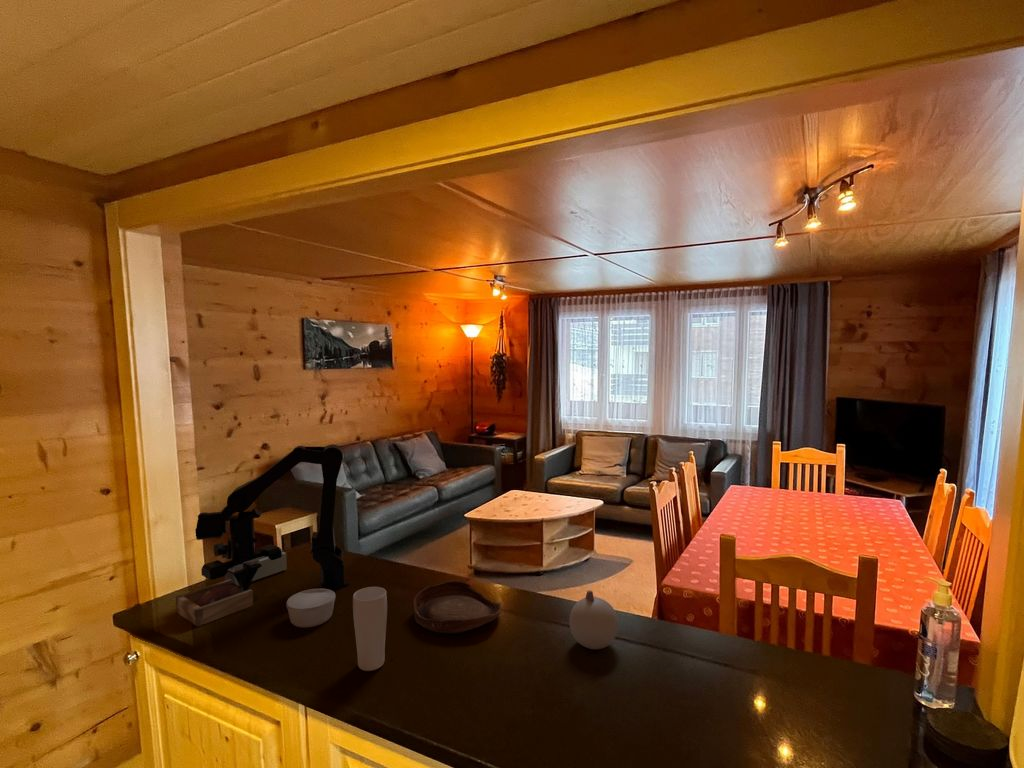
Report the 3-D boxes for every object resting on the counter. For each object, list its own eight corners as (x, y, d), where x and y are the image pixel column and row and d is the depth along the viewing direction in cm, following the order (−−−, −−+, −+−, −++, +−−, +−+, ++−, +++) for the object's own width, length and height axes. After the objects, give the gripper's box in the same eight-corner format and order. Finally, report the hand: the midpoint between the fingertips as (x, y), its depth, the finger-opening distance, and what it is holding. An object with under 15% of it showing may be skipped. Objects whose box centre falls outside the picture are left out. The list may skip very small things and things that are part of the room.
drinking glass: (394, 658, 107) (393, 588, 107) (376, 677, 101) (374, 603, 100) (367, 653, 110) (365, 584, 109) (347, 671, 103) (345, 598, 103)
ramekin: (336, 605, 132) (335, 585, 132) (335, 625, 122) (335, 604, 121) (289, 612, 129) (288, 591, 128) (284, 634, 118) (283, 611, 118)
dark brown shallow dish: (518, 616, 125) (518, 597, 125) (459, 652, 110) (459, 630, 110) (455, 591, 140) (455, 573, 139) (395, 620, 124) (395, 600, 124)
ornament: (560, 646, 111) (560, 592, 111) (587, 628, 119) (587, 577, 118) (600, 664, 104) (600, 607, 104) (626, 644, 112) (626, 590, 111)
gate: (282, 567, 156) (282, 546, 156) (287, 569, 154) (286, 548, 154) (223, 587, 142) (222, 564, 142) (227, 590, 141) (227, 566, 140)
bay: (253, 605, 132) (252, 590, 132) (197, 626, 122) (197, 610, 122) (230, 593, 140) (230, 578, 139) (176, 612, 129) (175, 596, 129)
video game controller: (201, 621, 127) (209, 598, 126) (189, 610, 129) (197, 588, 127) (236, 604, 136) (243, 582, 135) (225, 594, 138) (232, 573, 136)
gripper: (261, 520, 148) (263, 573, 149) (191, 539, 133) (193, 597, 134) (282, 527, 142) (284, 582, 142) (210, 547, 127) (212, 609, 127)
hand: (244, 592), depth 137 cm, fingers closed
